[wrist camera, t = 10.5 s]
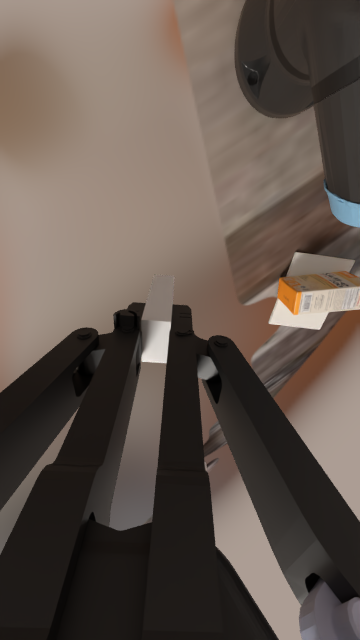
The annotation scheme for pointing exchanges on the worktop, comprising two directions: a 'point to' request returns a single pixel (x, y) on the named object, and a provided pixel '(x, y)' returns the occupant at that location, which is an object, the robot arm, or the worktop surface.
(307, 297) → the supplement box
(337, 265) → the mat
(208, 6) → the worktop surface
